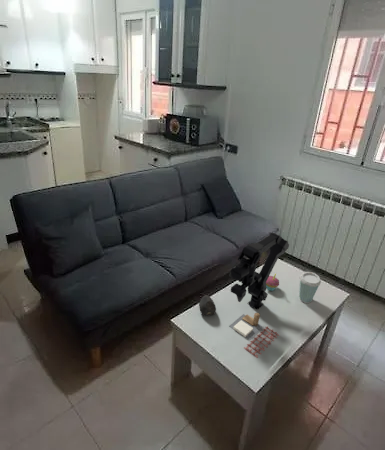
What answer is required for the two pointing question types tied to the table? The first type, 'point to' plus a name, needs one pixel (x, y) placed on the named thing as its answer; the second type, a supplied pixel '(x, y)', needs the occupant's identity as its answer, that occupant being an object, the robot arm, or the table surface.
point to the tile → (243, 328)
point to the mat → (255, 328)
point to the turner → (252, 319)
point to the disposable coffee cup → (308, 286)
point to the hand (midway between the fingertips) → (244, 296)
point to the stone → (207, 306)
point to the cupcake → (272, 283)
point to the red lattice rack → (261, 341)
